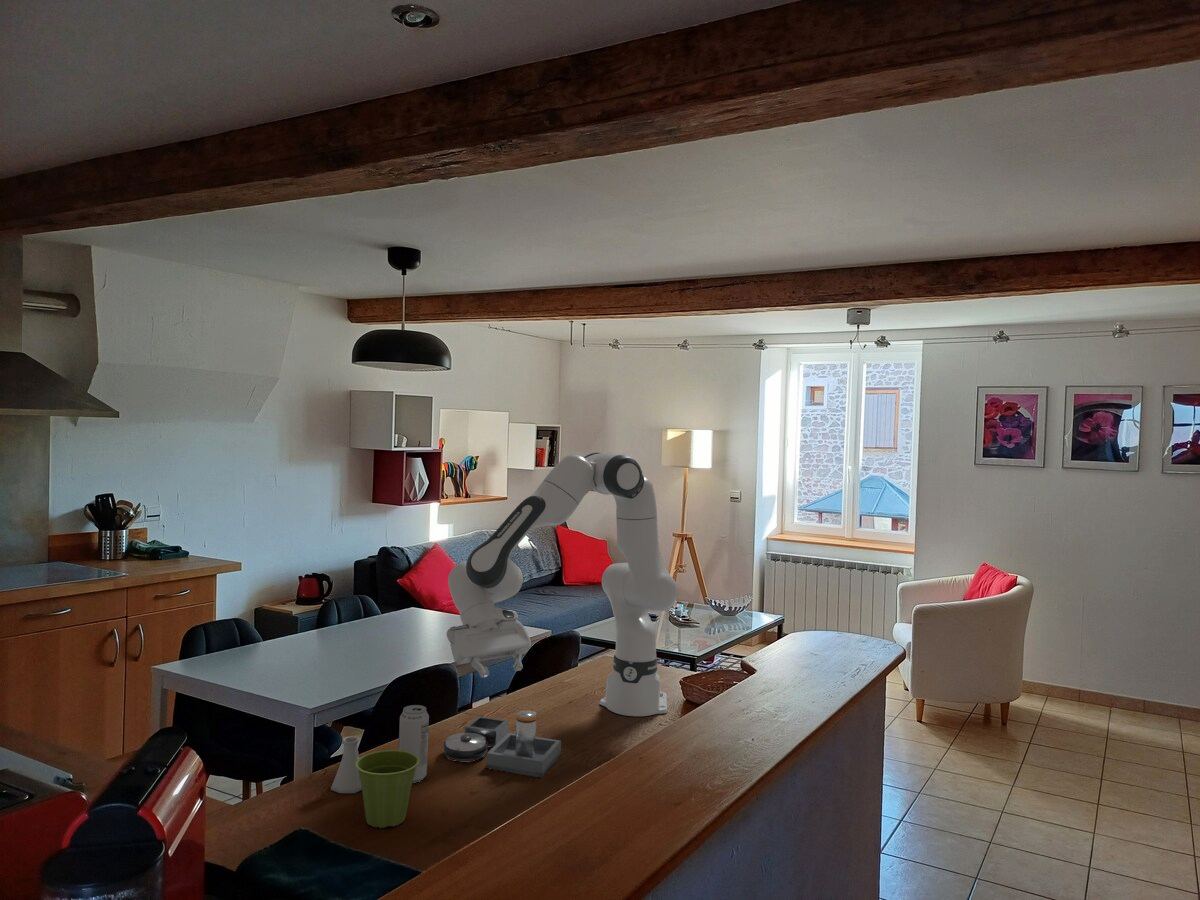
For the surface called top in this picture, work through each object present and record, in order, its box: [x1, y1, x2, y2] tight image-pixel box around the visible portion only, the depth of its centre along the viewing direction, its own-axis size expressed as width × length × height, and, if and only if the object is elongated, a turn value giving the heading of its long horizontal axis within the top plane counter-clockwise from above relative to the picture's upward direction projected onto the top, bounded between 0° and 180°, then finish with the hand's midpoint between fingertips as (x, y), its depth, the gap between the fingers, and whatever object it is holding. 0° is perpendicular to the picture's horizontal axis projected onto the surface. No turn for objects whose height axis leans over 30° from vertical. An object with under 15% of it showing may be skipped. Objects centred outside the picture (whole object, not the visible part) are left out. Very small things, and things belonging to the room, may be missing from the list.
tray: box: [485, 732, 562, 778], centre depth 186 cm, size 13×13×4 cm
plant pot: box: [355, 749, 420, 829], centre depth 156 cm, size 12×12×11 cm
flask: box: [330, 736, 362, 794], centre depth 170 cm, size 7×7×10 cm
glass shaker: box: [515, 710, 538, 758], centre depth 186 cm, size 4×4×10 cm
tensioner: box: [442, 715, 510, 761], centre depth 193 cm, size 19×10×4 cm, turn 165°
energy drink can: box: [398, 704, 430, 784], centre depth 175 cm, size 6×6×15 cm
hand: (502, 672), depth 194 cm, fingers open, 8 cm apart
